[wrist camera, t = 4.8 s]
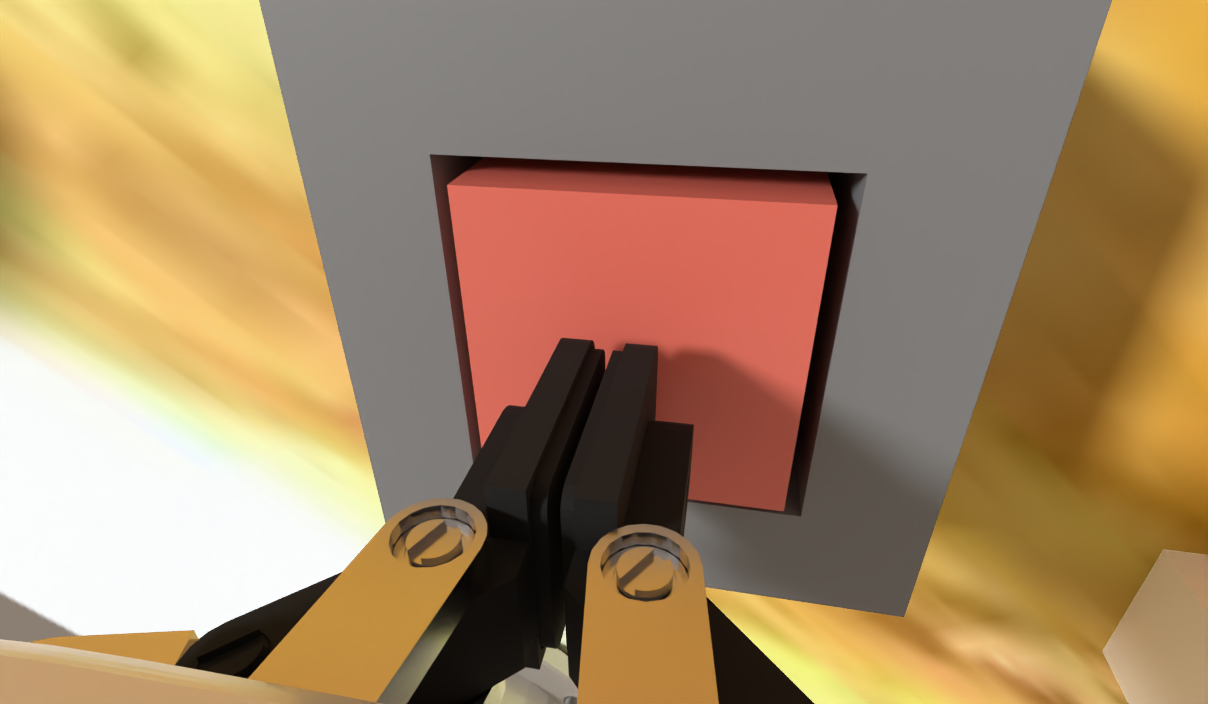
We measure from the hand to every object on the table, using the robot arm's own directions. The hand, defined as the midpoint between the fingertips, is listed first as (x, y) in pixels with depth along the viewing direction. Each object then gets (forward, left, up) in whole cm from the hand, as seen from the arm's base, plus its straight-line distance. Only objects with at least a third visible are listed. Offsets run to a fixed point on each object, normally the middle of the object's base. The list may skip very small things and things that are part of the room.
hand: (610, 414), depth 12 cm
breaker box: (+1, 0, -8) cm, 8 cm away
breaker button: (+1, 0, -5) cm, 5 cm away
